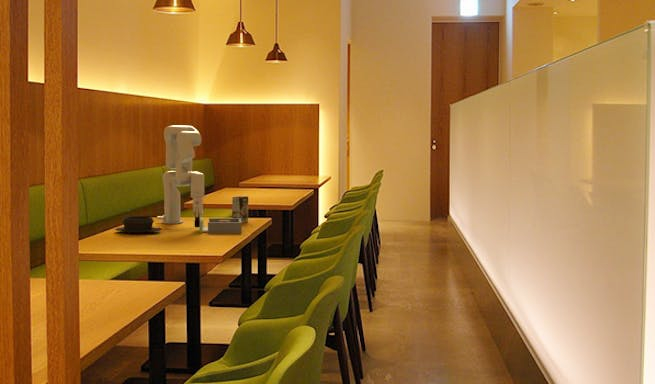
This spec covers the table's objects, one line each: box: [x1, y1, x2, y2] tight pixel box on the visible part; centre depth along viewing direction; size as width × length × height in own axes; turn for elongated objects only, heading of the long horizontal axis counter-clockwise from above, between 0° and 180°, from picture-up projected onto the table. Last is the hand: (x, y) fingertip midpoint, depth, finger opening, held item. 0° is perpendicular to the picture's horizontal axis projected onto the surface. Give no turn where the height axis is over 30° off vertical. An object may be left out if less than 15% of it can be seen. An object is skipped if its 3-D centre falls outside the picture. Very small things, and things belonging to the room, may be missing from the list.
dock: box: [207, 217, 243, 234], centre depth 417 cm, size 18×20×6 cm
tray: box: [199, 216, 208, 234], centre depth 416 cm, size 19×20×6 cm
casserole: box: [114, 215, 162, 235], centre depth 405 cm, size 25×19×8 cm
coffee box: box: [231, 195, 249, 224], centre depth 453 cm, size 9×6×16 cm
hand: (197, 227), depth 415 cm, fingers closed
